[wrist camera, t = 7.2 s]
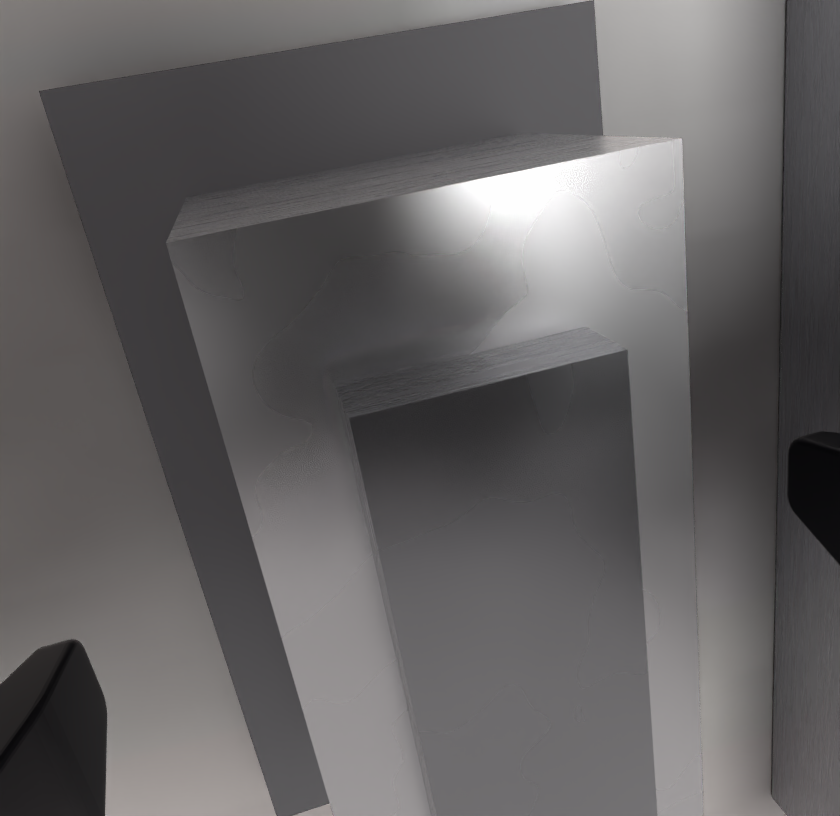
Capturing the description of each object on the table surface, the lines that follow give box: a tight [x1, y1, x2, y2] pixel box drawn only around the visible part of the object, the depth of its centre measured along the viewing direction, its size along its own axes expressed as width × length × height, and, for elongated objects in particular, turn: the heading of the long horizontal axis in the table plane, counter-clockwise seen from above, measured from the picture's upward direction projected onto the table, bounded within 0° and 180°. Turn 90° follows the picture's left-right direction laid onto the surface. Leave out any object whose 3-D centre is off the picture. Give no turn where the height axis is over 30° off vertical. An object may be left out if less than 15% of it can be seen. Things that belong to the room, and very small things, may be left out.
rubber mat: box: [39, 0, 603, 816], centre depth 12 cm, size 12×7×1 cm, turn 10°
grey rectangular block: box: [166, 133, 704, 816], centre depth 10 cm, size 9×4×5 cm, turn 10°
